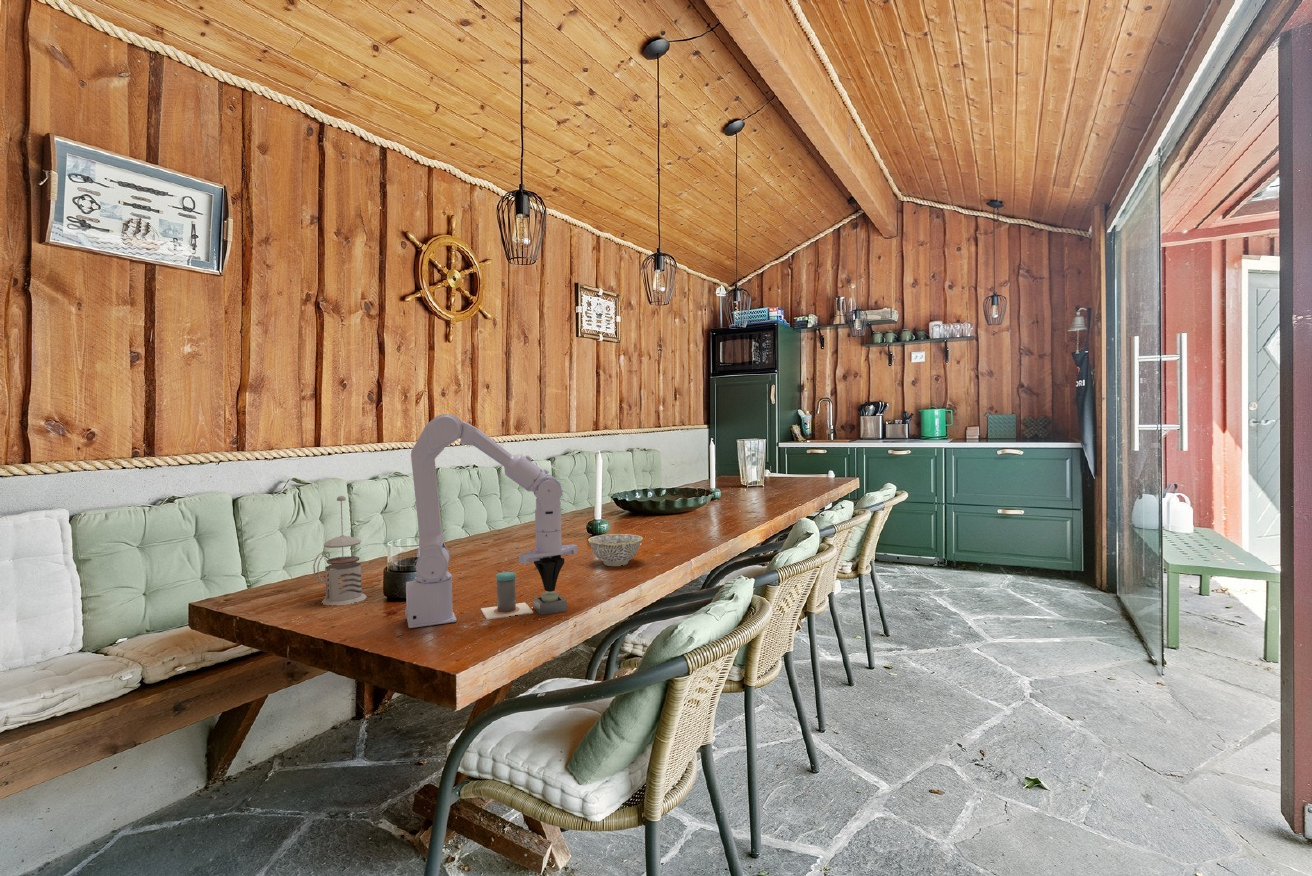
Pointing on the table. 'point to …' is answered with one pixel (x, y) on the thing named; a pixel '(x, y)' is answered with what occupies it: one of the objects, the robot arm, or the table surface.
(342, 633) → the table surface
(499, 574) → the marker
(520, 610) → the paper
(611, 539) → the bowl
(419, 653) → the table surface
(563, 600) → the button base
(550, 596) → the button
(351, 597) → the french press
